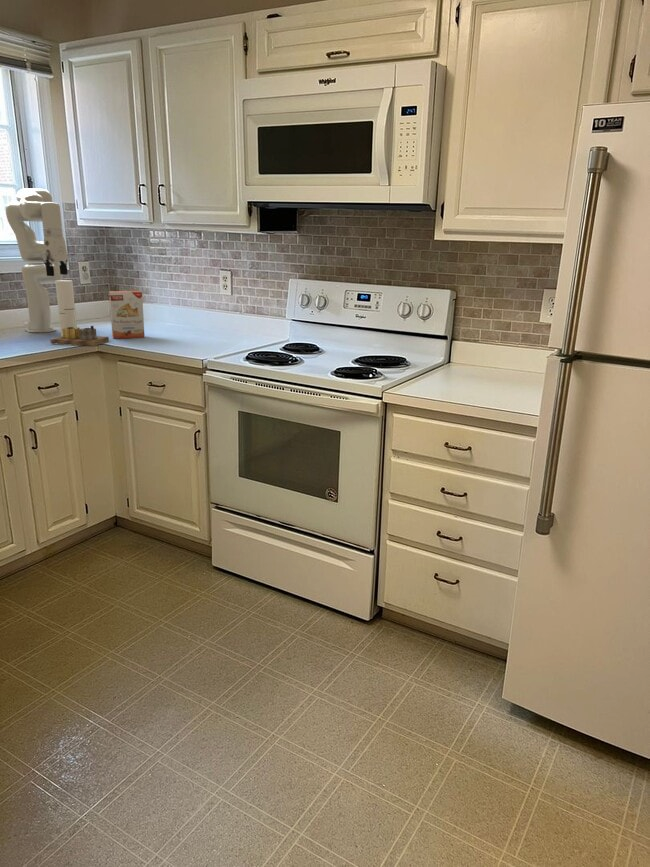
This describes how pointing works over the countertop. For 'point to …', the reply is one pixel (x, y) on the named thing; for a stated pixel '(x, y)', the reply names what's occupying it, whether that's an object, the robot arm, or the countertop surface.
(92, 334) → the gear board
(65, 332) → the brass gear
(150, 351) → the countertop surface
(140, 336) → the cracker box
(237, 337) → the countertop surface
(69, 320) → the cylindrical container
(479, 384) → the countertop surface
